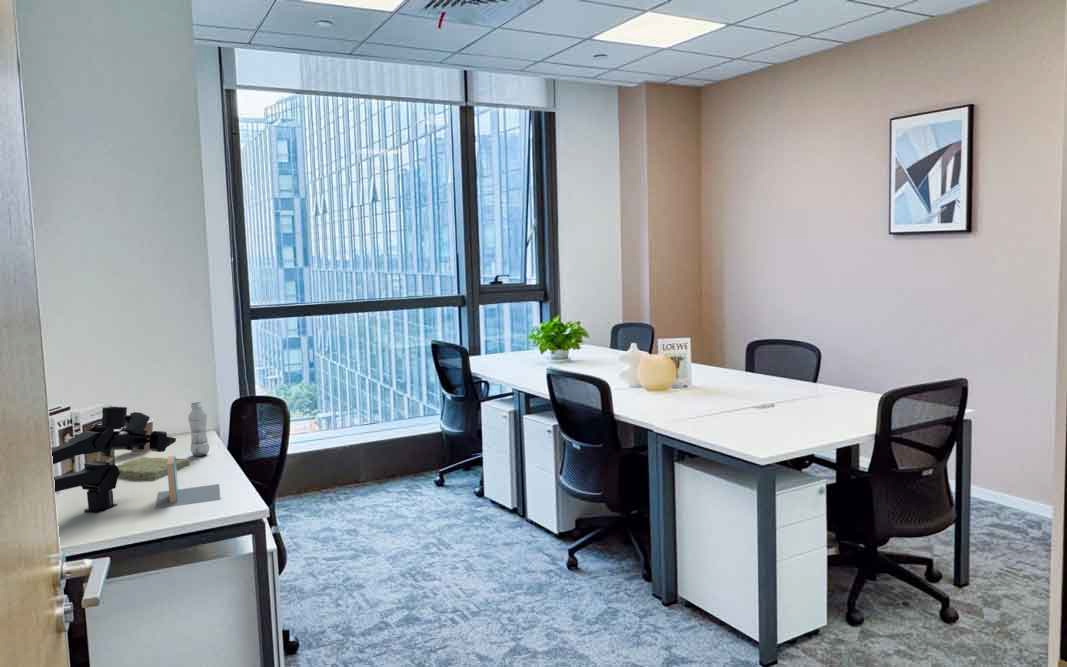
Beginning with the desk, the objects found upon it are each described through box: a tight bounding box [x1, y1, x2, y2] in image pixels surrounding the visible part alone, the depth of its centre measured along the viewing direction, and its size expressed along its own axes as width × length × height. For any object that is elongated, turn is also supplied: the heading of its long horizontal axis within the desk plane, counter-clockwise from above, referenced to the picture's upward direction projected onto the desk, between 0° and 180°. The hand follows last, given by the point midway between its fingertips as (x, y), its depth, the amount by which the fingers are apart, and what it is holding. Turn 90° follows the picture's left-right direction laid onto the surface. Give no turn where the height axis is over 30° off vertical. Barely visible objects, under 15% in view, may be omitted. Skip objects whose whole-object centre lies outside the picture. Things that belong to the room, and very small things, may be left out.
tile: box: [167, 455, 179, 503], centre depth 240 cm, size 2×10×12 cm, turn 23°
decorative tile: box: [116, 456, 190, 480], centre depth 273 cm, size 19×20×4 cm
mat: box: [154, 483, 221, 510], centre depth 243 cm, size 18×18×1 cm
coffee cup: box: [124, 418, 154, 455], centre depth 302 cm, size 10×10×12 cm
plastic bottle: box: [187, 401, 210, 457], centre depth 293 cm, size 6×7×20 cm
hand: (165, 438), depth 253 cm, fingers open, 9 cm apart
